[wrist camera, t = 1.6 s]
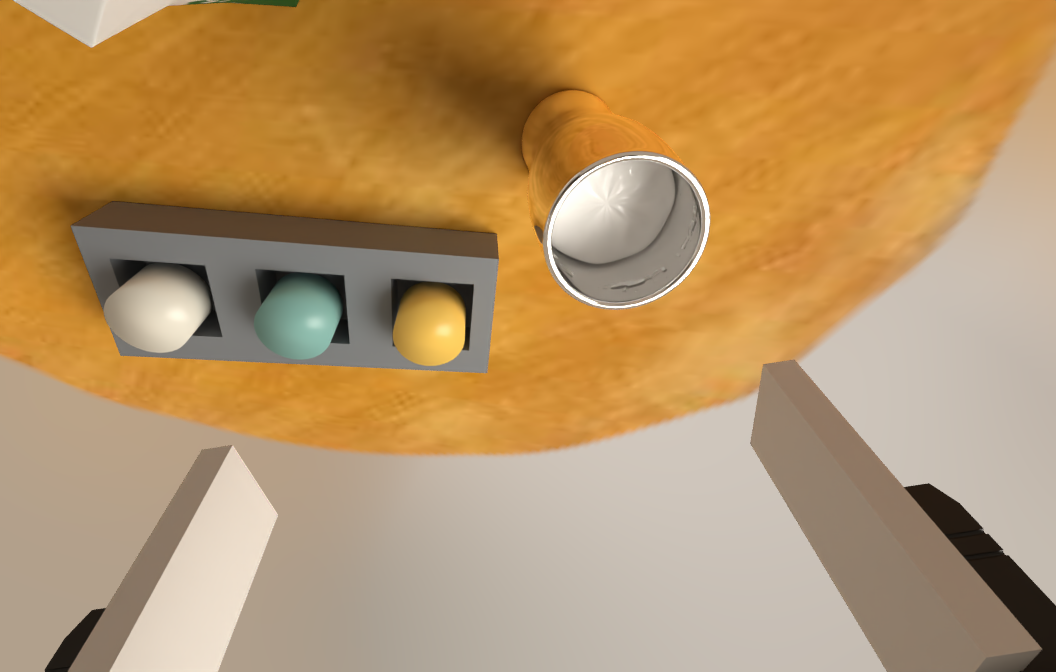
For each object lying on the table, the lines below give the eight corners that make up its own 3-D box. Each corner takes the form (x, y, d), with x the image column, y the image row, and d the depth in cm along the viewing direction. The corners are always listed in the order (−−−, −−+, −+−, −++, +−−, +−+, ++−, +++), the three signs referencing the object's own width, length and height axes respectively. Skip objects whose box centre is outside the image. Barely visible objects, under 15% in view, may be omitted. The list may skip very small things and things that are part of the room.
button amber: (399, 335, 35) (393, 364, 33) (399, 278, 33) (391, 304, 30) (463, 338, 36) (462, 367, 33) (467, 283, 34) (466, 309, 31)
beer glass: (583, 214, 35) (641, 338, 23) (493, 163, 33) (504, 269, 20) (646, 121, 32) (754, 205, 20) (553, 56, 29) (608, 105, 17)
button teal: (277, 328, 34) (260, 357, 32) (267, 269, 32) (247, 295, 29) (345, 332, 35) (334, 361, 32) (340, 274, 32) (328, 300, 30)
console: (152, 322, 37) (120, 355, 34) (112, 201, 32) (70, 225, 29) (486, 341, 40) (487, 373, 37) (496, 233, 35) (498, 259, 32)
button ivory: (147, 321, 33) (117, 350, 30) (126, 259, 31) (92, 285, 28) (219, 325, 34) (197, 354, 31) (205, 265, 31) (179, 291, 29)
